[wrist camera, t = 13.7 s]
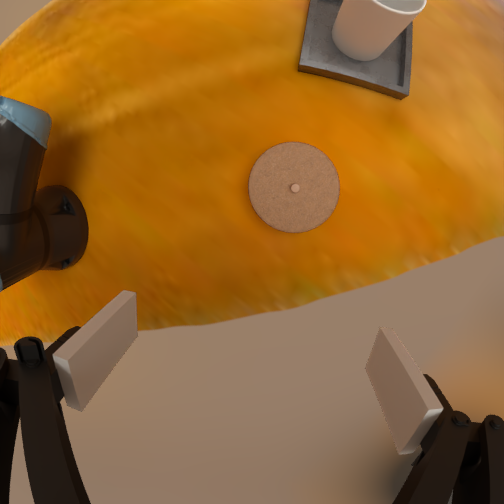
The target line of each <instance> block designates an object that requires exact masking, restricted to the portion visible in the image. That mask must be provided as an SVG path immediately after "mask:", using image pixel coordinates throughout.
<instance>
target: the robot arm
mask: <svg viewBox="0 0 504 504" xmlns="http://www.w3.org/2000/svg"><path fill="white" fill-rule="evenodd" d="M51 124H52V122H51V118H50V116H49V114H48V113H47V112H45V111H43V110H40V109H38V108H35V107H33V106H30V105H27V104H25V103H22V102H19V101H16V100H13V99H10V98H6V97H3V96H0V292H1V291H2V290H4V289H6V288H8V287H9V286H11V285H13V284H15V283H17V282H18V281H20V280H22V279H24V278H26V277H28V276H29V275H31V274H33V273H35V272H37V271H39V270H62V269H65V268H68V267H69V266H71V265H73V264H75V263H76V262H77V261H78V260H79V259H80V258H81V257H82V255H83V253H84V251H85V248H86V245H87V240H88V223H87V218H86V214H85V211H84V208H83V206H82V204H81V202H80V200H79V199H78V197H77V196H76V195H75V194H74V193H73V192H72V191H71V190H69V189H68V188H66V187H64V186H60V185H53V186H46V187H43V188H41V189H39V190H38V191H36V189H37V184H38V179H39V174H40V170H41V166H42V162H43V158H44V154H45V150H47V141H48V137H49V133H50V129H51ZM137 336H138V333H137V309H136V292H131V291H126V290H123V291H122V292H121V293H120V294H118V295H117V296H116V297H115V298H114V299H113V300H112V301H110V302H109V303H108V304H107V305H106V306H105V307H104V308H103V309H101V310H100V311H99V312H98V313H97V314H96V315H95V316H94V317H92V318H91V319H90V320H89V321H88V322H87V323H86V324H85V325H84V326H83V327H79V326H75V327H73V328H71V329H69V330H67V331H66V332H65V333H64V334H63V335H62V337H61V336H60V337H59V338H58V339H57V341H55V342H54V343H53V344H51V345H50V346H49V347H48V348H47V349H46V350H45V351H44V347H43V343H42V341H41V340H40V339H39V338H36V337H24V338H21V339H19V340H18V341H17V342H16V343H15V345H14V350H15V353H16V356H17V359H18V360H12V359H8V357H7V354H6V352H5V350H4V349H2V348H0V504H9V492H10V479H11V469H12V460H13V453H14V446H15V440H16V434H17V429H18V424H19V419H20V420H21V430H22V440H23V448H24V454H25V461H26V467H27V472H28V477H29V482H30V486H31V491H32V495H33V499H34V502H35V504H91V503H90V501H89V498H88V495H87V493H86V490H85V487H84V485H83V482H82V479H81V476H80V473H79V470H78V467H77V465H76V461H75V458H74V455H73V451H72V448H71V444H70V441H69V437H68V433H67V429H66V425H65V420H64V416H63V411H62V407H61V404H60V401H61V399H62V398H63V397H65V400H66V403H67V406H69V407H71V408H74V409H76V410H78V411H81V412H82V411H83V410H84V408H85V407H86V405H87V404H88V403H89V401H90V400H91V398H92V397H93V396H94V394H95V393H96V391H97V390H98V388H99V387H100V386H101V384H102V383H103V382H104V380H105V379H106V378H107V376H108V375H109V374H110V372H111V371H112V370H113V368H114V367H115V366H116V364H117V363H118V361H119V360H120V359H121V357H122V356H123V355H124V354H125V352H126V351H127V350H128V348H129V347H130V346H131V344H132V343H133V341H134V340H135V339H136V338H137ZM365 369H366V372H367V374H368V376H369V379H370V381H371V384H372V386H373V388H374V391H375V393H376V396H377V398H378V401H379V403H380V406H381V409H382V411H383V414H384V416H385V419H386V421H387V424H388V427H389V429H390V432H391V435H392V437H393V440H394V443H395V445H396V448H397V451H398V454H399V455H401V454H409V453H413V452H414V451H415V450H416V449H417V447H418V446H419V445H421V447H422V449H423V450H422V452H421V453H420V455H419V456H418V457H417V458H416V459H415V461H414V462H413V463H412V464H411V465H412V466H413V465H414V466H413V468H412V470H411V472H410V474H409V475H408V477H407V479H406V481H405V483H404V485H403V486H402V488H401V490H400V492H399V493H398V495H397V497H396V498H395V500H394V502H393V503H392V504H447V503H448V501H449V498H450V496H451V493H452V490H453V496H452V504H504V421H503V420H502V418H500V417H499V416H496V415H488V416H486V418H485V419H484V421H483V422H482V423H476V422H471V420H470V418H469V417H468V416H467V415H466V414H464V413H462V412H460V411H453V409H452V407H451V406H450V404H449V403H448V401H447V400H446V398H445V396H444V395H443V394H442V392H441V390H440V389H439V388H438V385H437V384H436V382H435V381H434V380H433V379H432V378H431V377H429V376H428V375H427V374H422V373H421V371H420V369H419V368H418V366H417V365H416V363H415V362H414V360H413V359H412V357H411V356H410V354H409V353H408V351H407V350H406V348H405V347H404V345H403V344H402V342H401V341H400V339H399V338H398V337H397V335H396V333H395V332H394V330H393V329H392V328H384V327H380V328H379V331H378V335H377V337H376V340H375V343H374V346H373V348H372V351H371V354H370V356H369V359H368V362H367V364H366V367H365Z"/></svg>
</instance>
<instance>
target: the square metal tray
mask: <svg viewBox="0 0 504 504" xmlns="http://www.w3.org/2000/svg"><path fill="white" fill-rule="evenodd" d="M342 2H343V0H310V6H309V12H308V17H307V23H306V29H305V34H304V40H303V46H302V51H301V57H300V63H299V68H298V71H300V72H305V73H310V74H314V75H319V76H323V77H327V78H331V79H335V80H339V81H343V82H346V83H350V84H354V85H357V86H361V87H364V88H367V89H370V90H374V91H377V92H380V93H383V94H386V95H389V96H392V97H394V98H397V99H400V100H402V99H403V98H405V97H407V96H409V87H410V75H411V59H412V21H411V23H410V24H409V25H408V26H407V27H406V28H405V29H404V30H403V31H402V32H401V33H400V34H399V35H398V36H397V37H396V38H395V40H394V41H393V42H392V43H391V44H390V45H389V46H388V47H387V48H386V49H385V50H384V51H383V53H382V54H381V55H380V56H379V57H377V58H376V59H374V60H370V61H359V60H355V59H353V58H350V57H348V56H347V55H345V54H344V53H342V52H341V51H340V50H339V49H338V48H337V46H336V45H335V43H334V41H333V39H332V28H333V25H334V23H335V20H336V18H337V15H338V12H339V10H340V7H341V5H342Z"/></svg>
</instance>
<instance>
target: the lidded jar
mask: <svg viewBox="0 0 504 504" xmlns="http://www.w3.org/2000/svg"><path fill="white" fill-rule="evenodd" d="M248 191H249V197H250V201H251V203H252V206H253V208H254V210H255V211H256V213H257V214H258V216H259V217H260V218H261V219H262V220H263V221H264V222H265V223H267V224H268V225H270V226H271V227H273V228H275V229H278V230H280V231H284V232H290V233H300V232H305V231H309V230H311V229H314V228H316V227H318V226H319V225H321V224H322V223H323V222H325V221H326V220H327V219H328V217H329V216H330V215H331V214H332V212H333V211H334V209H335V207H336V205H337V202H338V198H339V192H340V184H339V178H338V174H337V171H336V169H335V167H334V165H333V163H332V162H331V160H330V159H329V158H328V157H327V156H326V155H325V154H324V153H323V152H322V151H320V150H319V149H317V148H316V147H313V146H311V145H309V144H305V143H301V142H286V143H281V144H278V145H276V146H273V147H272V148H270V149H268V150H267V151H265V152H264V153H263V154H262V155H261V156H260V157H259V158H258V159H257V161H256V162H255V164H254V166H253V168H252V170H251V173H250V176H249V183H248Z"/></svg>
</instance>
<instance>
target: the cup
mask: <svg viewBox="0 0 504 504" xmlns="http://www.w3.org/2000/svg"><path fill="white" fill-rule="evenodd" d="M425 5H426V0H343V2H342V5H341V7H340V10H339V12H338V15H337V18H336V20H335V23H334V25H333V28H332V39H333V41H334V43H335V45H336V46H337V48H338V49H339V50H340V51H341V52H342V53H344V54H345V55H347V56H348V57H350V58H353V59H355V60H359V61H370V60H374V59H376V58H377V57H379V56H380V55H381V54H382V53H383V51H384V50H385V49H386V48H387V47H388V46H389V45H390V44H391V43H392V42H393V41H394V40H395V38H396V37H397V36H398V35H399V34H400V33H401V32H402V31H403V30H404V29H405V28H406V27H407V26H408V25H409V24H410V23H411V21H412V20H413V19H414V18H415V17H416V16H417V15H418V14H419V13H420V12H421V11H422V10H423V8H424V7H425Z"/></svg>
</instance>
